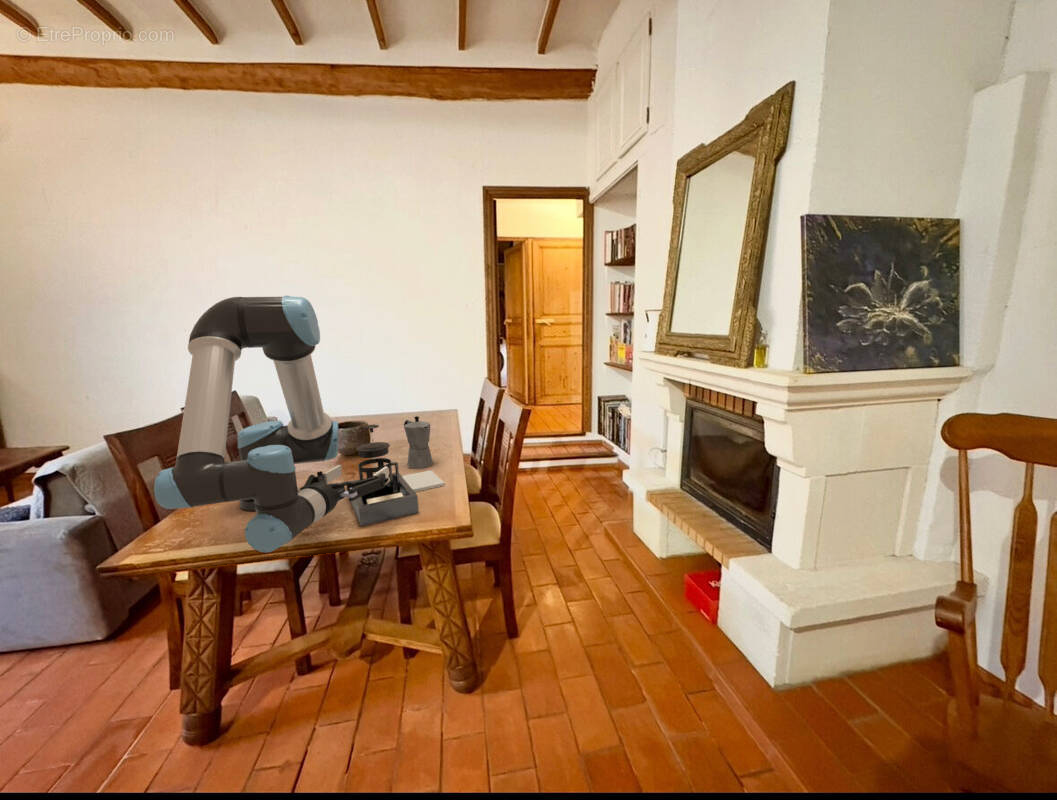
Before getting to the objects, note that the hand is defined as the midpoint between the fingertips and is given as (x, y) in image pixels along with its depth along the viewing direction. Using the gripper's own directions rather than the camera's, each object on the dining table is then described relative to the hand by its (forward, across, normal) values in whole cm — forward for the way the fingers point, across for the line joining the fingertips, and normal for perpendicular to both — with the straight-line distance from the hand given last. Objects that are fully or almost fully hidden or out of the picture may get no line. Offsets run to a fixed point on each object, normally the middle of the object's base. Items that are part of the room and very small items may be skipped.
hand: (363, 470), depth 118 cm
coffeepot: (+41, -3, -13) cm, 43 cm away
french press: (+8, 0, -13) cm, 15 cm away
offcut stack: (0, +6, -12) cm, 14 cm away
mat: (+24, +5, -12) cm, 27 cm away
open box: (+6, +1, -12) cm, 14 cm away
